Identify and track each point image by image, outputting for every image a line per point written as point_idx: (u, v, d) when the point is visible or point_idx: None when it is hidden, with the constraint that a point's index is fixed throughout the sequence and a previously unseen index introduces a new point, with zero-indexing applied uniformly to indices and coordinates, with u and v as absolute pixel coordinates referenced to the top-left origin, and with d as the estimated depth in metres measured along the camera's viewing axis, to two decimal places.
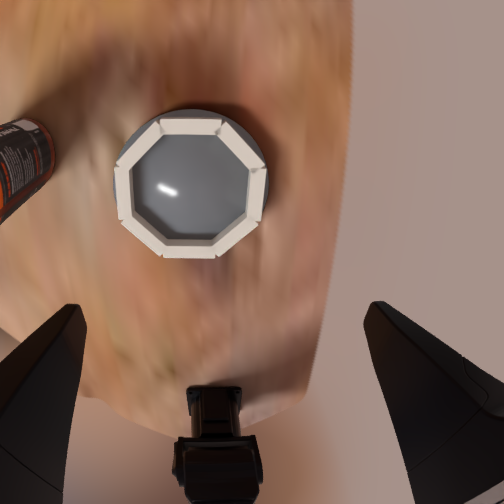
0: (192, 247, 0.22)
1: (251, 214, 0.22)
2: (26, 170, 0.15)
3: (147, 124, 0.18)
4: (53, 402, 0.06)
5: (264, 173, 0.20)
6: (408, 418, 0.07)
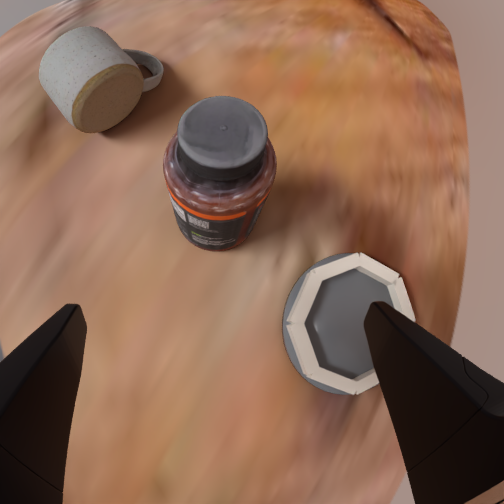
0: (341, 377, 0.21)
1: None
2: (260, 210, 0.19)
3: (343, 255, 0.24)
4: (53, 402, 0.06)
5: None
6: (408, 418, 0.07)
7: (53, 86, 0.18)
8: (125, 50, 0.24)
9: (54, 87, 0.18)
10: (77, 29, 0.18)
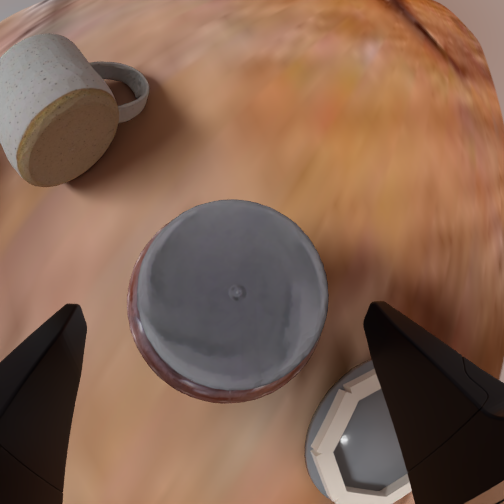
0: (369, 496, 0.14)
1: None
2: None
3: None
4: (53, 402, 0.06)
5: None
6: (408, 418, 0.07)
7: None
8: (98, 63, 0.17)
9: None
10: (29, 39, 0.11)
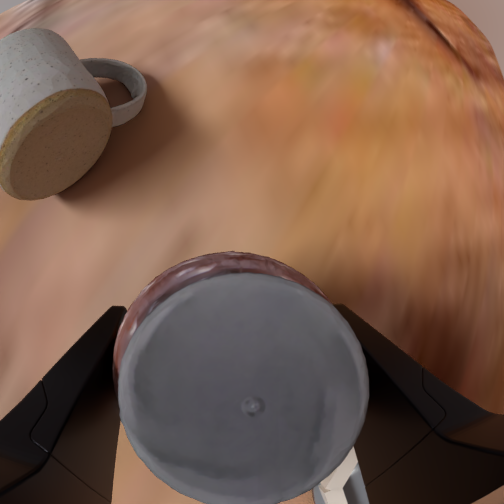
0: None
1: None
2: None
3: None
4: (105, 410, 0.06)
5: None
6: (363, 430, 0.07)
7: None
8: (91, 60, 0.15)
9: None
10: (12, 35, 0.09)
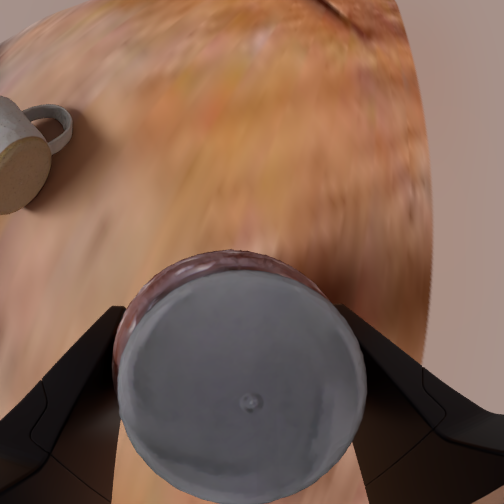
0: None
1: None
2: None
3: None
4: (105, 410, 0.06)
5: None
6: (364, 430, 0.07)
7: None
8: (32, 108, 0.20)
9: None
10: None
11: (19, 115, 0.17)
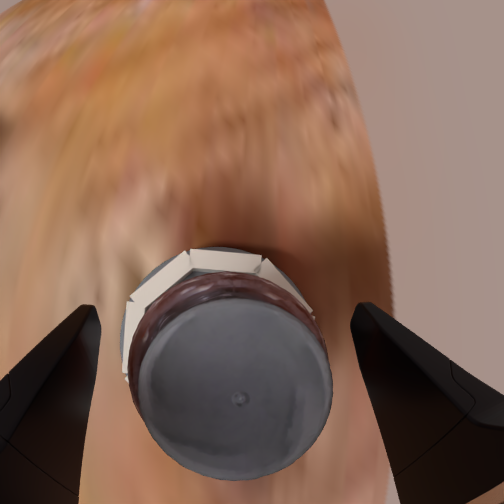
0: None
1: None
2: None
3: (172, 259, 0.17)
4: (70, 405, 0.06)
5: None
6: (394, 422, 0.07)
7: None
8: None
9: None
10: None
11: None
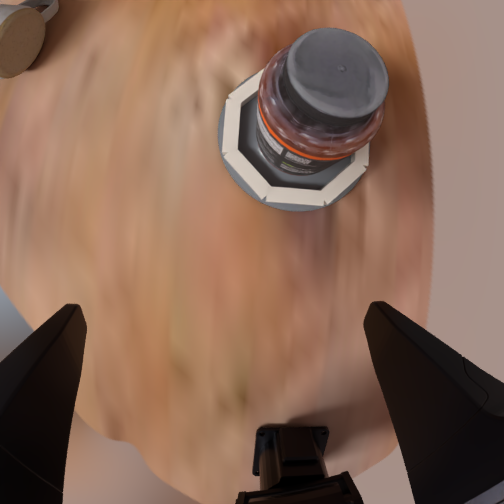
0: (300, 190, 0.20)
1: (359, 157, 0.20)
2: None
3: (259, 73, 0.20)
4: (53, 402, 0.06)
5: None
6: (408, 418, 0.07)
7: None
8: (19, 5, 0.16)
9: None
10: None
11: (10, 5, 0.14)
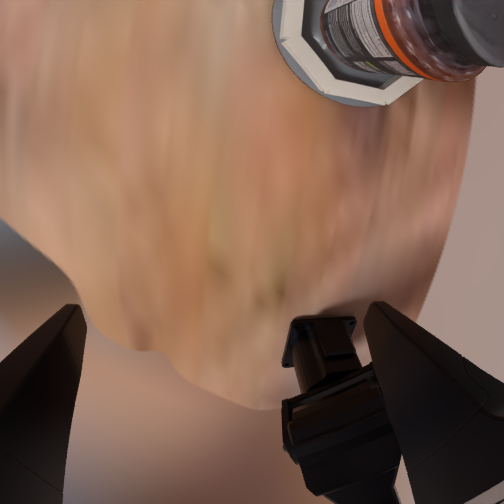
0: (364, 86, 0.16)
1: None
2: None
3: None
4: (53, 402, 0.06)
5: None
6: (408, 418, 0.07)
7: None
8: None
9: None
10: None
11: None
